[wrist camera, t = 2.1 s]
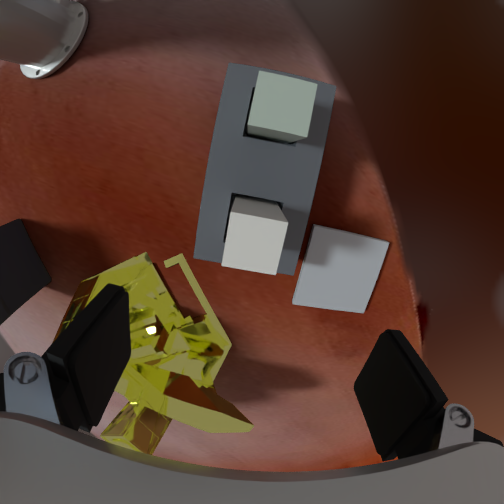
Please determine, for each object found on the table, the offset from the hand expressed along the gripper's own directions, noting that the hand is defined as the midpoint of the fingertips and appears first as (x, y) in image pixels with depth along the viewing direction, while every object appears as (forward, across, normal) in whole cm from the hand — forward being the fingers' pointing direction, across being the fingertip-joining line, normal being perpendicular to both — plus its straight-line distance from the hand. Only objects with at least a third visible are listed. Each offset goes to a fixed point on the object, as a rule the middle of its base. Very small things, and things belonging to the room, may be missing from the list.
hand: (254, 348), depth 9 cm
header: (+22, 0, -5) cm, 23 cm away
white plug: (+21, 0, 0) cm, 21 cm away
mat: (+22, -12, +5) cm, 26 cm away
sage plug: (+21, 0, -10) cm, 23 cm away
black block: (+23, +32, +11) cm, 41 cm away
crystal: (+23, +9, +19) cm, 31 cm away
